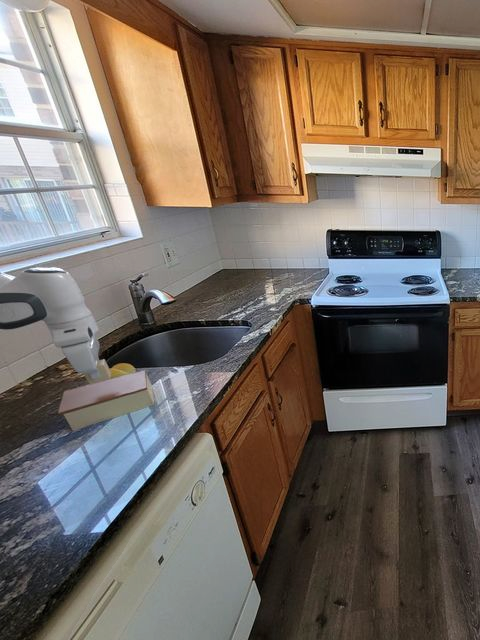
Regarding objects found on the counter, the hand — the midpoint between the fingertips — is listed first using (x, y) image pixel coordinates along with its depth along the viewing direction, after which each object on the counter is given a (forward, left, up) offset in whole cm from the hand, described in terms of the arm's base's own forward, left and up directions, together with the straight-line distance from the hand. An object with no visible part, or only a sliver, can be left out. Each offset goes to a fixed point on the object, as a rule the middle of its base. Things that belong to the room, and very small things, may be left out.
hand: (97, 373), depth 101 cm
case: (0, 0, -11) cm, 11 cm away
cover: (0, 0, -6) cm, 6 cm away
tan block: (0, 0, -2) cm, 2 cm away
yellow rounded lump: (-15, +16, -12) cm, 25 cm away
